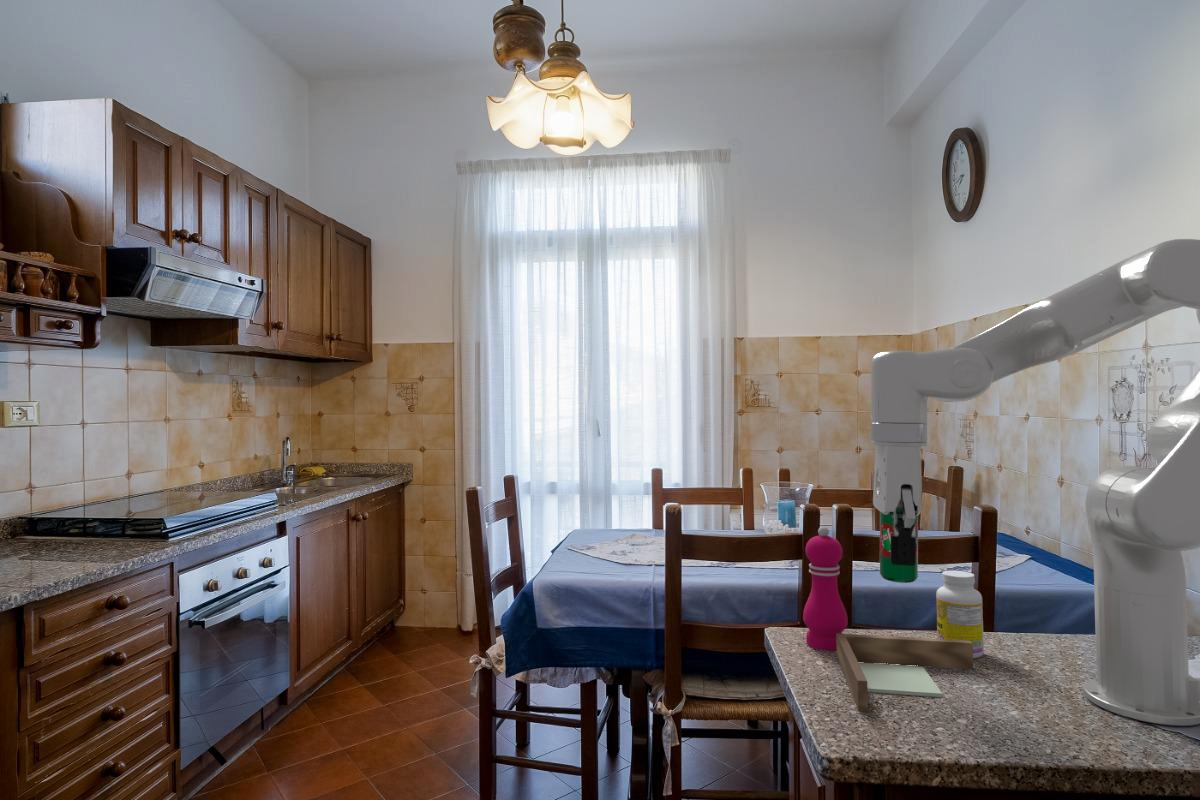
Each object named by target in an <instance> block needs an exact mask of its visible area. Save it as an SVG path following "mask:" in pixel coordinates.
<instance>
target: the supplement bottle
mask: <svg viewBox="0 0 1200 800" xmlns="http://www.w3.org/2000/svg"><path fill="white" fill-rule="evenodd" d="M941 574H942V575H941V577H942V578H941V579H942V581H943V586H940V587H939V588H938V589H937V590H936V593H935V594H936V595H935V597H936V598H935V599H936V628H937V629H936V631H937V633H936V634H937V636H936V637H937V638H936V639H950V640H968V641H971V642H972V643H973V659H977V658H980V657H982V656H983V655H984V653H985V652H984V651H985V650H984V620H983V619H984V618H983V614H984V613H983V611H984V610H983V596H982V594H981V592H980V591H978V590H977V589H975V587H974V585H975V583H976V580H975V579H976V578H975V574H974V573H972V572H969V571H963V570H944V571H942V573H941Z"/></svg>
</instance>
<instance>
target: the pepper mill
mask: <svg viewBox="0 0 1200 800" xmlns="http://www.w3.org/2000/svg"><path fill="white" fill-rule="evenodd" d="M817 533H818V535H816V536H813V537H811V538H810V539H809V540H808V541H807V542H806V545H805V555H806V557H807V559H808V560H809V562H810V563H809V564H808V566H809V570H808V572H809V573H810V574H811V590H810V593H809V596H808V598H807V601H806V603H805V605H804V608H803V611H802V612H803V614H802V620H803V623H804V624H805V626H806V627H807V628H808V630H807V631H806V633H805V635H806V638H805V639H806V644H807V645H808V646H809V647H811V648H812V649H816V650H820V651H825V652H826V651H827V652H832V651H833V652H834V651H836V650H837V642H836V633H839V634H843V632H844V631H845V630H846V628H847V627H848V623H849V621H848V613H847V611H846V608H845V606H844V603H843V601H842V599H841V595H840V594H839V589H838V576H839V575H840V574H841V572H840V565H839V564H838V563H839V562H840V561H841V560H842V558H843V553H844V552H843V547H842V545H841V543H840V541H839V540H838V539H836V538H834V537H832V536H829V534H830V530H829V528H828V527H826V526H820V527H819V528H818V530H817ZM836 652H837V651H836Z"/></svg>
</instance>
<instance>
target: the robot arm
mask: <svg viewBox="0 0 1200 800" xmlns="http://www.w3.org/2000/svg"><path fill="white" fill-rule="evenodd" d="M1183 307H1184V308H1190V309H1194V310H1195V311H1196V318H1197V321H1198V324H1199V325H1200V239H1196V238H1194V239H1193V238H1176V239H1175V238H1174V239H1170V240H1165V241H1162V242H1160V243H1158V244H1155V245H1153V246H1151V247H1149V248H1147V249H1145V250H1143V251H1140V252H1138V253H1136V254H1134V255H1132V256H1129V257H1127V258H1125V259H1123V260H1121V261H1119V262H1117V263H1114V264H1113V265H1111V266H1109V267H1106V268H1104V269H1103V270H1100V271H1098V272H1096V273H1094V274H1092V275H1089V277H1086V278H1084V279H1082V280H1080V281H1078V282H1077V283H1073V284H1072V285H1070V286H1068V287H1066V288H1063V289H1062V290H1060V291H1057V292H1055V293H1053V294H1051V295H1049V296H1047V297H1045V298H1043V299H1040V301H1037V302H1036V303H1034V304H1032V305H1030V306H1027V307H1026V308H1024V309H1022V310H1020V311H1019V312H1017V313H1015V314H1014V315H1013V316H1011V317H1009V318H1008V319H1006V320H1004V321H1003V322H1000V323H999V324H996V325H995V326H993V327H991V328H989V329H987V330H985V331H983V332H980V333H979V334H977V335H975V336H973V337H971V338H969V339H967V340H965V341H963V342H961V343H959V344H957V345H954V346H952V347H950V348H946V349H941V350H932V351H931V350H929V351H916V350H887V351H882V352H881V351H880V352H878V353H876V354H875V355H874V356H873V357H872V359H871V366H870V367H871V368H870V371H871V372H870V386H871V387H870V393H871V394H870V399H871V400H870V416H871V417H870V445H872V446H876V448H875V457H874V467H873V469H874V470H873V489H872V490H873V491H872V492H873V493H872V494H873V495H872V505H873V507H874V508H875V509H877V511H879V513H880V512H882V513H883V514H885V515H889V513H890V512H892V526H893V536H891V547H890V561H891V563H892V564H893V565H907V566H914V565H915V564H916V537H915V536H916V533H915V516H917V515H918V516H919V515H920V514H921V513H922V512H921V511H922V505H923V504H922V503H923V501H922V500H923V499H922V498H923V495H922V494H923V483H922V482H923V481H922V479H923V477H922V475H923V474H922V459H921V447H922V448H923V447H928V398H929V399H931V398H932V399H934V400H935V401H938V402H942V403H954V402H955V403H957V402H968V401H971V400H973V399H976V398H978V397H980V396H981V395H983V394H984V393H985V392H986V391H987V390H989V388H990V387H991V385H992V384H993V383H995V382H997V381H1000V380H1003V379H1004V378H1007V377H1009V376H1012V375H1014V374H1017V373H1019V372H1022V371H1024V370H1027V369H1030V368H1033V367H1036V366H1037V367H1038V366H1040V365H1045V364H1048V363H1052V362H1055V361H1056V362H1057V361H1059V360H1061V359H1064V358H1067V357H1070V356H1072V355H1074V354H1077V353H1079V352H1081V351H1084V350H1085V349H1087V348H1089V347H1091V346H1094V345H1096V344H1098V343H1100V342H1102V341H1105V340H1106V339H1109V338H1111V337H1113V336H1115V335H1117V334H1119V333H1121V332H1124V331H1126V330H1128V329H1130V328H1132V327H1135V326H1137V325H1139V324H1141V323H1144V322H1145V321H1148V320H1149V319H1153V318H1154V317H1156V316H1159V315H1161V314H1163V313H1166V312H1169V311H1172V310H1175V309H1180V308H1183ZM1145 441H1146V447H1147V450H1148V452H1149V454H1150V456H1151V457H1152V458H1153V459H1154V460H1156V461H1157V462H1158V463H1159V464H1158V465H1157V466H1156V467H1155V468H1152V467H1151V468H1150V467H1144V466H1137V465H1136V466H1135V465H1125V466H1118V467H1117V466H1116V467H1112V468H1109V469H1107V470H1104V471H1103V472H1102V473H1100V474H1099V475H1097V476H1096V477H1095V478H1094V479H1093V480H1092V481H1091V483H1090V485H1088V486H1089V487H1088V489H1087V491H1086V495H1085V514H1086V519H1087V524H1088V530H1089V535H1090V539H1091V540H1090V542H1091V546H1092V548H1091V549H1092V557H1093V559H1092V560H1093V579H1094V581H1093V595H1094V622H1095V623H1094V625H1095V654H1096V656H1095V657H1096V658H1095V660H1096V661H1095V663H1096V678H1093V679H1092V678H1091V679H1089V680H1087V681H1085V682H1084V684H1083V685H1082V687H1083V694H1084V697H1085V698H1086V699H1088V701H1090V702H1091V703H1093V704H1094V705H1095V706H1098V707H1100V708H1103V709H1104V710H1106V711H1109V712H1112V713H1113V714H1114V713H1115V714H1116V715H1119V716H1123V717H1126V718H1130V719H1134V720H1136V721H1143V722H1146V723H1151V724H1156V725H1157V724H1158V725H1165V726H1173V727H1175V726H1177V727H1178V726H1180V727H1181V726H1182V727H1185V726H1186V727H1187V726H1195V725H1196V726H1197V725H1200V677H1193V676H1191V675H1190V673H1189V672H1190V671H1189V669H1190V668H1189V645H1188V644H1189V643H1188V640H1189V639H1188V638H1189V637H1188V614H1187V613H1188V608H1187V578H1186V568H1185V562H1184V558H1183V553H1182V552H1186V551H1191V550H1196V549H1200V368H1199V369H1198V370H1197V371H1196V372H1195V374H1194V375H1193V377H1192V378H1191V379H1190V380H1189V381H1188V383H1187V384H1186V385H1185V386H1184V387H1183V389H1181V391H1180V392H1179V393H1178V394H1177V395H1176V396H1175V398H1173V400H1172V401H1170V403H1169V405H1167V406H1166V408H1165V409H1164V410H1163V411H1161V412H1160V414H1159V415H1158V416H1157V417H1156V419H1155V420H1154V421H1153V422H1152V424H1151V426H1150V427H1149V429H1148V432H1147V434H1146V440H1145ZM913 501H914V503H915V506H916V510H914V504H913ZM896 510H903V514H896ZM898 519H900V521H899V522H898ZM902 519H903V520H902ZM898 524H899V525H898Z"/></svg>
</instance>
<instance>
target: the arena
mask: <svg viewBox="0 0 1200 800" xmlns="http://www.w3.org/2000/svg"><path fill="white" fill-rule="evenodd" d="M836 642H837V651H836V660H837V663H838V662H839V663H838V665H839V667H841V668H840V670H841V673H842V675H843V674H844V675H843V677H844V679H846V680H845V683H846V684H848V685H847V687H848V690H849V689H850V690H849V692H850V694H852V695H851V697H852V699H853V702H854V704H855V706H856V710H857V711H858V712H863V713H865V712H866V713H868V712H869V702H868V700H869V698H868V696H869V695H868V693H869V692H868V690H867V680H866V677H865V675H864V673H863V671H862V669H861V667H860V665H859V663H858V662H864V663H886V664H887V663H888V664H900V665H916V666H917V665H918V666H931V667H930V668H938V667H940V668H941V669H954V668H955V669H956V670H958V669H959V670H970V669H972V670H974V658H973V643H972V642H971V641H968V640H950V639H937V638H927V637H914V636H913V637H910V636H906V637H905V636H895V635H893V636H889V635H873V634H857V633H856V634H855V633H853V634H851V633H842V634H839V633H836ZM955 669H954V670H955Z"/></svg>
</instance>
